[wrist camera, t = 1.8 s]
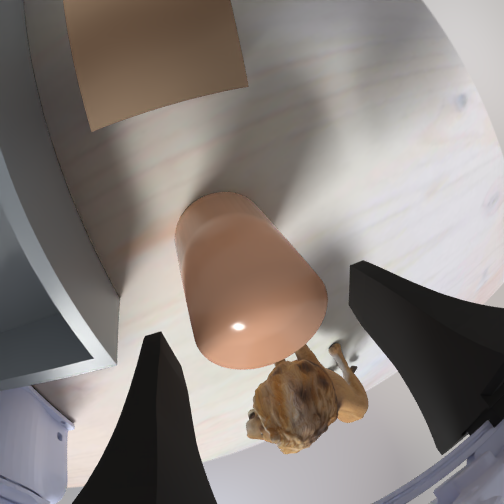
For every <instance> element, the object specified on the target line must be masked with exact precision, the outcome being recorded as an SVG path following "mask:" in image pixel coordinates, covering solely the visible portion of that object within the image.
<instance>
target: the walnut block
mask: <svg viewBox="0 0 504 504" xmlns="http://www.w3.org/2000/svg"><path fill="white" fill-rule="evenodd" d="M63 4H64V11H65V18H66V25H67V31H68V36H69V42H70V47H71V52H72V57H73V62H74V67H75V71H76V75H77V80H78V84H79V88H80V92H81V96H82V100H83V104H84V107H85V111H86V115H87V118H88V122H89V125H90V129H91V132H93V131H96V130H98V129H101V128H103V127H106V126H108V125H111V124H114V123H116V122H119V121H122V120H125V119H127V118H130V117H133V116H136V115H139V114H142V113H145V112H148V111H151V110H155V109H158V108H161V107H165V106H168V105H171V104H175V103H178V102H182V101H186V100H190V99H194V98H197V97H202V96H206V95H210V94H214V93H219V92H223V91H228V90H233V89H238V88H243V87H248V81H247V76H246V71H245V66H244V61H243V56H242V51H241V47H240V42H239V37H238V33H237V28H236V23H235V19H234V14H233V10H232V5H231V1H230V0H63Z"/></svg>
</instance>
